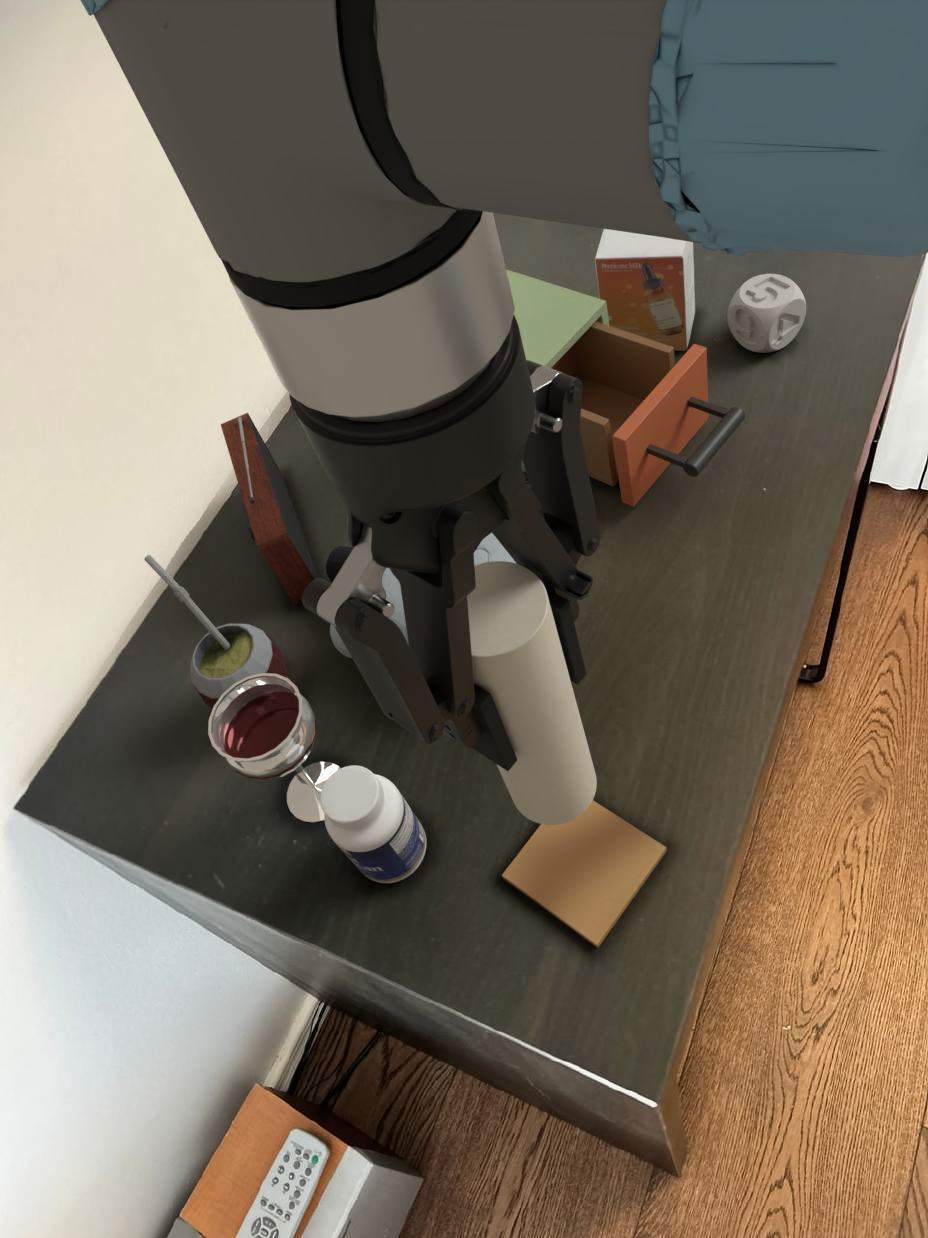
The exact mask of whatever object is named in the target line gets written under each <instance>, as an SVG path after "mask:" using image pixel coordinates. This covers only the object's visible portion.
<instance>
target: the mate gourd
mask: <svg viewBox="0 0 928 1238" xmlns="http://www.w3.org/2000/svg"><path fill="white" fill-rule="evenodd" d="M143 559H144V561H145V562H146V563H147V564H148V566H149V567H150V568H152V570H153V571H154V572H155V573H156V574H157V575H158V576H159V577H160V578H161V579H162V580H163V581H164V582H165V583H166V584H167V586H168V587H169V588H170V589H171V590H172V591H173V595H174V596H175V597H176V598H177V599H178V600H179V602H180V603H183V604H184V605H186V607H187V608H188V609H189V611H191V612H192V614H193V615H194V616H195V617H196V619H198V621H199V622H200V623H201V624H202V625H203V626H204V627H205V629H206V630H207V631H208V632H207V633H206V634H205V635H203V637H202V638H201V640H200V641H199V642H198V643H197V644H196V645H195V647H194V651H193V653H192V656H191V658H190V665H189V668H190V680H191V682H192V684H193V686H194V688H195V690H196V692H197V693H198V695H199V697H201V699H202V701H203V702H204V704H205V705H206V706H207V707H209V708H210V709H211V710H213V707H214V705H215V704H216V702H217V701H218V700H219V698H220V697H221V695H222V694H223V693H224V692H225V691H226V690H228V689H229V688H230V687H231V686H232V685H233V684H235V683H236V682H238V681H240V680H242V679H244V678H246V677H248V676H252V675H256V674H260V673H272V674H278V675H281V676H283V677H286V678H288V679H289V675H288V670H287V664H286V660H285V655H284V654H283V652H282V650H281V649H280V647H279V646H278V644H277V643H276V642H275V640H274V639H273V638H272V637H271V636H270V635H269V634H267V633H266V632H264V630H263V629H261V628H258V627H256V626H254V625H251V624H250V623H226V624H223V625H220V626H215V625H214V624H213V623H212V622H211V621H210V619H209V618H208V617H207V616H206V615H205V614H204V613H203V611H202V610H201V609H200V607H199V606H197V604H196V603H195V602H194V600H193V599H192V598H191V597H190V593H189V592H188V591H187V590H186V589H185V588H184V587H183V586H182V585H179V583H178V582H177V581H176V580H175V579H174V578H173V577H172V576H171V575H170V574H169V573H168V572H167V570H165V569H164V568H163V566H161V564H160V563H158V561H156V559H155V558H154V557H153V556H151V554H147V555H146V556H145V557H144V558H143Z"/></svg>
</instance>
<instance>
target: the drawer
mask: <svg viewBox="0 0 928 1238" xmlns="http://www.w3.org/2000/svg"><path fill="white" fill-rule="evenodd" d="M707 349H708V348H707V347H705V346H703V345H699V344H696V343H693V344H692V345H691V346H690V348H689V349H687V350H686V352H685V354H684V355H682V357H681V358H680V359H679V360H678V361H677V362H675V361H676V360H675V350H674V348H673V347H671V346H668V345H665V344H662V343H659V342H656V341H653V340H650V339H647V338H644V337H641V336H638V335H635V334H632V333H629V332H626V331H623V330H620V329H617V328H614V327H611V326H608V325H605V324H602V323H599V322H596V321H595V322H594V323H593V325H592V326H591V327H590V328H589V329H588V330H587V331H586V332H585V333H584V334H583V335H582V336H581V337H580V338H579V339H578V340H577V341H576V342H575V343H574V345H573V346H572V347H571V348H570V349H569V350H568V351H567V352H566V353H565V354H564V355H563V356H562V357H561V358H560V359H559V360H558V361H557V362H556V364H555V365H554V366H553V367H552V368H551V369H554V370H556V371H559V372H562V373H564V374H567V375H569V376H572V377H575V378H577V379H580V380H581V382H582V384H583V392H582V404H581V417H580V432H581V437H582V443H583V448H584V453H585V458H586V463H587V468H588V474H589V478H593V479H594V480H596V481H599V482H601V483H604V484H606V485H609V486H610V487H614V486H615V485H616V484H617V483H619V489H620V490H619V491H620V496H621V502H622V503H624V504H626V505H628V506H631V507H636V505H637V504H638V502H639V501H640V500H641V499H642V498H643V497H644V496H645V494H646V493H647V492H648V491H649V490H650V488H651V487H652V486H653V485H654V484H655V482H657V480H658V479H659V478H660V477H661V476H662V474H663V473H664V472H665V470H666V469H667V468H668V467H669V466H670V465H671V464H672V465H676V466H679V467H680V468H682V469H683V472H684V473H685V474H686V475H688V476H689V477H692V478H696V477H698V476H699V475H700V474H701V472H702V471H703V470H704V469H705V468H706V467H707V465H708V464H709V463H710V461H711V460H712V459H713V458H714V456H716V454H717V453H718V452H719V450H721V448H722V447H723V446H724V445H725V443H726V442H727V441H728V440H729V438H730V437H732V435H733V433H734V432H735V431H736V430H737V429H738V428H739V426H740V425H741V424H742V423H743V421H745V418H746V414H745V412H744V410H743V409H741V408H740V407H738V406H732V407H731V408H729V409H728V408H725V407H722V406H720V405H717V404H714V403H712V402H709V383H708V382H709V381H708V354H707V352H708V350H707ZM710 415H712V416H714V417H716V418H717V417H718V418H721V419H720V420H719V421H718V423H717V424H716V425H715V426H714V428H713V429H712V430H711V431H710V432H709V434H708V435H706V437H705V438H704V439H703V441H702V442H701V443H700V444H699V445H698V447H697V448H696V449H695V450H694V452H692V454H691V455H690V456H689V457H685V456H682V455H680V453H681V452H682V450H683V449H684V448H685V447H686V446H687V444H688V443H689V442H690V441H691V440H692V439H693V437H694V436H695V435H696V434H698V432H699V430H700V429H701V428H702V427H703V426H704V425H705V423H706V422H707V421H708V420H709V418H710Z"/></svg>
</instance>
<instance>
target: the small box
mask: <svg viewBox="0 0 928 1238" xmlns="http://www.w3.org/2000/svg"><path fill="white" fill-rule="evenodd" d="M602 230H603V231H602V234H601V237H600V241H599V243H598V246H597V252H596V254H595V258H594V265H595V275H596V284H597V291H598V299H601V300H604V301H606V304H607V311H608V318H609V326H611V327H614V328H617V329H620V330H623V331H626V332H629V333H632V334H635V335H638V336H641V337H644V338H647V339H650V340H653V341H656V342H659V343H662V344H665V345H668V346H671V347H673V348H674V351H679V352H684V351H688V347H689V343H690V339H691V335H692V331H693V330H692V329H693V325H694V320H695V315H696V299H695V297H696V296H695V264H694V263H695V262H694V242H689V241H682V240H676V239H670V238H664V237H657V236H650V235H643V234H637V233H630V232H623V231H616V230H609V229H602Z"/></svg>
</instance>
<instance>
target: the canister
mask: <svg viewBox="0 0 928 1238" xmlns="http://www.w3.org/2000/svg"><path fill="white" fill-rule="evenodd" d="M475 581H476V588H475V590H474V591H472V592H471V593H470V594H469V595H468V596H467V601H468V614H469V627H470V640H471V653H472V665H473V678H474V683H475V684H476V685H478V686H480V687H481V688H483V689H484V690H486V691H488V692H489V693H491V695H492V698H493V700H494V703H495V705H496V708H497V710H498V713H499V715H500V718H501V720H502V723H503V725H504V728H505V730H506V732H507V735H508V737H509V740H510V742H511V745H512V747H513V750H514V752H515V755H516V757H517V761H516V763H515V764H514V765H513V766H512V767H511V769H510V770H509V771H506V770H505V769H503V768H502V767H500V766H499V765H497V764H496V767H497V768H498V771H499V773H500V775H501V779H502V780H503V782H504V785H505V786H506V789H507V791H508V793H509V795H510V798H511V800H512V802H513V804H514V806H515V807H516V809H517V810H518V811H519V812H520V814H521V815H523V816H524V817H525V818H526V819H528V820H530V821H532V822H534V823H536V824H538V825H541V824H544V825H559V824H564V823H567V822H570V821H572V820H574V819H576V818H577V817H578V816H580V815H581V814H582V813H583V812H585V810H586V809H587V808H588V807H589V805H590V804H591V802H592V800H593V801H594V798H595V795H596V793H597V787H598V780H597V775H596V771H595V767H594V762H593V760H592V759H593V758H592V754H591V751H590V748H589V744H588V741H587V736H586V733H585V730H584V725H583V721H582V717H581V714H580V711H579V706H578V703H577V699H576V696H575V693H574V688H573V685H572V681H570V677H569V673H568V669H567V666H566V662H565V658H564V655H563V651H562V647H561V643H560V640H559V636H558V632H557V629H556V625H555V621H554V617H553V614H552V610H551V606H550V603H549V599H548V595H547V591H546V589H545V586H544V584H543V583H542V581H541V580H540V579H539V578H538V576H537V575H536V574H534V573H533V572H532V571H531V570H529V569H527V568H526V567H524V566H521V565H519V564H516V563H512V562H506V561H492V562H485V563H481V564H477V565H475Z"/></svg>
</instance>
